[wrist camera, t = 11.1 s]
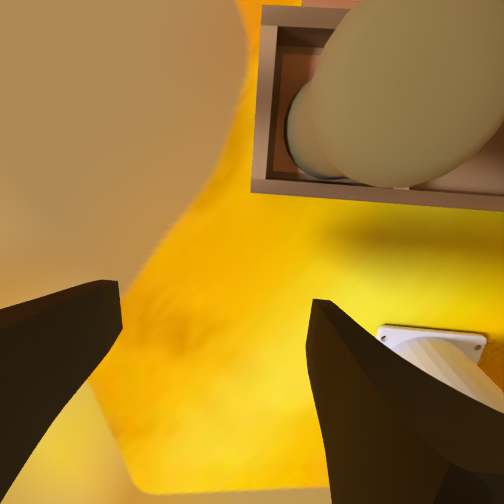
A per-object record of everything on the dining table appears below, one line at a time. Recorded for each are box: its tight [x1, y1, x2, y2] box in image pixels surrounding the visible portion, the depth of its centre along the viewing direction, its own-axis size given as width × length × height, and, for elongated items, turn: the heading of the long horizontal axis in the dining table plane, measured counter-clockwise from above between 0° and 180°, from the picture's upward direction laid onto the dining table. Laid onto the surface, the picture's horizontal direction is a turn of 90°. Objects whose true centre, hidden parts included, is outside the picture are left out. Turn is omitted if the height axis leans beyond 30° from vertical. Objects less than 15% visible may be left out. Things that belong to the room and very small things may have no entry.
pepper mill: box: [283, 0, 504, 188], centre depth 11 cm, size 6×6×11 cm
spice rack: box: [250, 0, 504, 212], centre depth 15 cm, size 9×25×3 cm, turn 86°
